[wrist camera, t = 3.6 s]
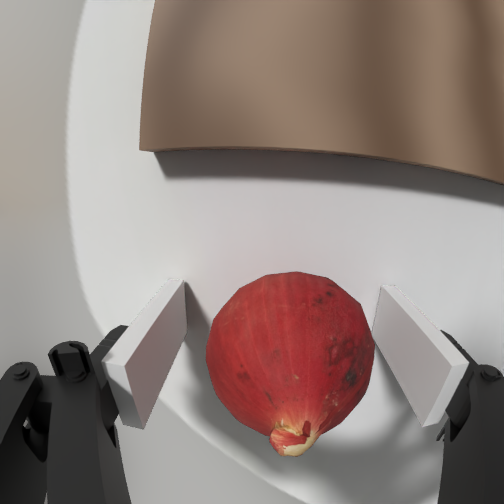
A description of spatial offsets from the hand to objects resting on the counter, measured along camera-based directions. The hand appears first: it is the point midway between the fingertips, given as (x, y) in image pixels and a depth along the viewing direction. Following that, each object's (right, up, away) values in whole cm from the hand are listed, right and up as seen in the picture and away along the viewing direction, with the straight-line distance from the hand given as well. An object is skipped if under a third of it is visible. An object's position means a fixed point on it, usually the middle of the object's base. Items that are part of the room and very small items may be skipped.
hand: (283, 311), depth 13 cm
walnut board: (+4, +14, -4) cm, 15 cm away
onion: (0, 0, 0) cm, 0 cm away
